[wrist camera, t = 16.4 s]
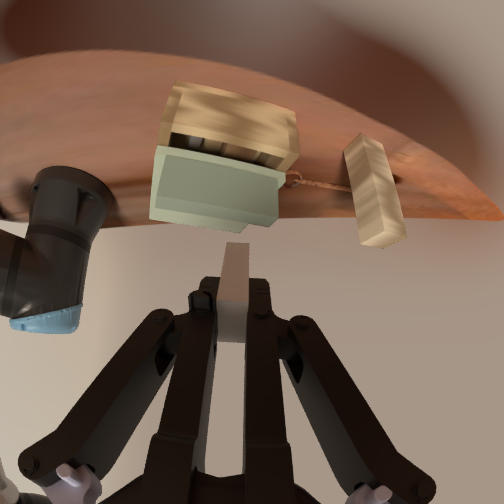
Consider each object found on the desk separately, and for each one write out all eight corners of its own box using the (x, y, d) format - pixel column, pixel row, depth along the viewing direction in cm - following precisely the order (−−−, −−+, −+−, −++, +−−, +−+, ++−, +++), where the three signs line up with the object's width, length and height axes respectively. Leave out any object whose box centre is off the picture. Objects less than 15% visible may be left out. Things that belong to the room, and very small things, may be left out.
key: (384, 176, 35) (287, 156, 32) (386, 181, 34) (288, 161, 32) (365, 198, 40) (275, 184, 37) (367, 203, 39) (276, 189, 37)
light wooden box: (160, 160, 32) (150, 200, 30) (175, 79, 20) (160, 121, 18) (248, 177, 36) (247, 217, 34) (294, 111, 24) (300, 155, 22)
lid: (150, 211, 32) (144, 249, 30) (157, 144, 20) (144, 194, 19) (240, 226, 36) (239, 262, 34) (285, 172, 24) (288, 219, 23)
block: (343, 150, 29) (360, 243, 25) (360, 133, 26) (384, 230, 22) (364, 159, 30) (383, 248, 26) (382, 144, 27) (407, 237, 23)
